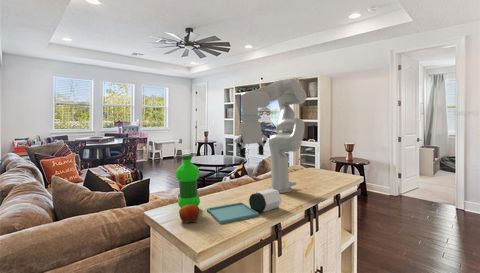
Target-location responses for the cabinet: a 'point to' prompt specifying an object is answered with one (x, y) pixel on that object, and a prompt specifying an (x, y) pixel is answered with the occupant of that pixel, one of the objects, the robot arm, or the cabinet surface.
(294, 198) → the cabinet surface
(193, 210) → the fruit
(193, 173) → the plastic bottle
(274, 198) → the jar
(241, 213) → the tray
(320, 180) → the cabinet surface
